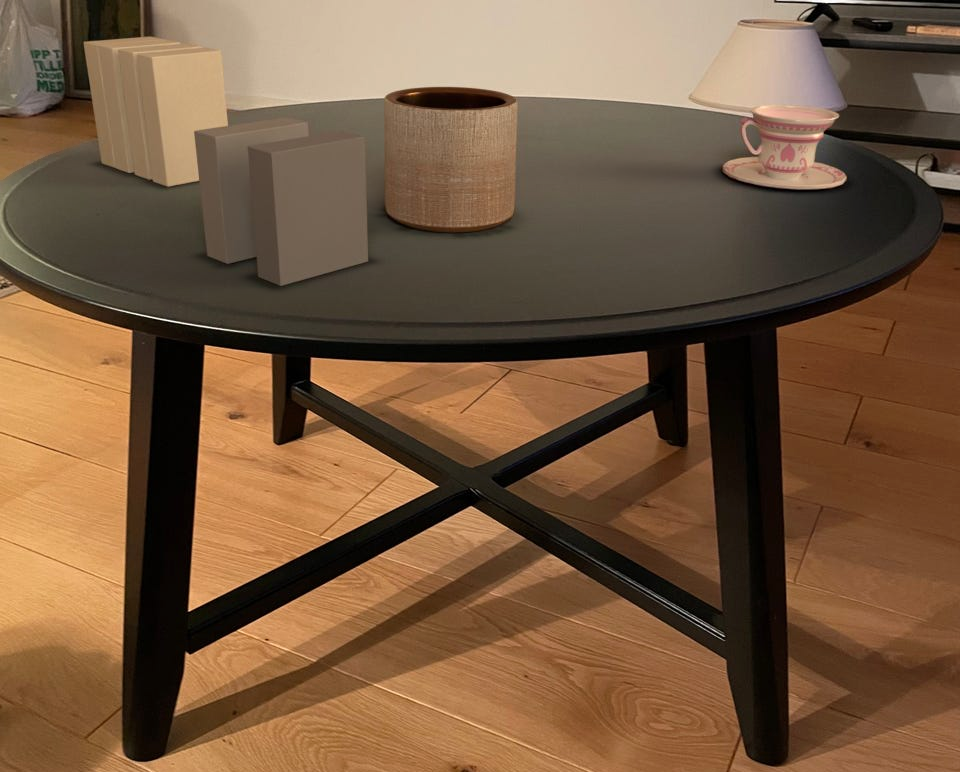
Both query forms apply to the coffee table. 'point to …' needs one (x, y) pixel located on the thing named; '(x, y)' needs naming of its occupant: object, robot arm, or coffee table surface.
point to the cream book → (139, 103)
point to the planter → (450, 158)
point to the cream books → (157, 104)
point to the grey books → (283, 197)
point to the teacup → (786, 149)
